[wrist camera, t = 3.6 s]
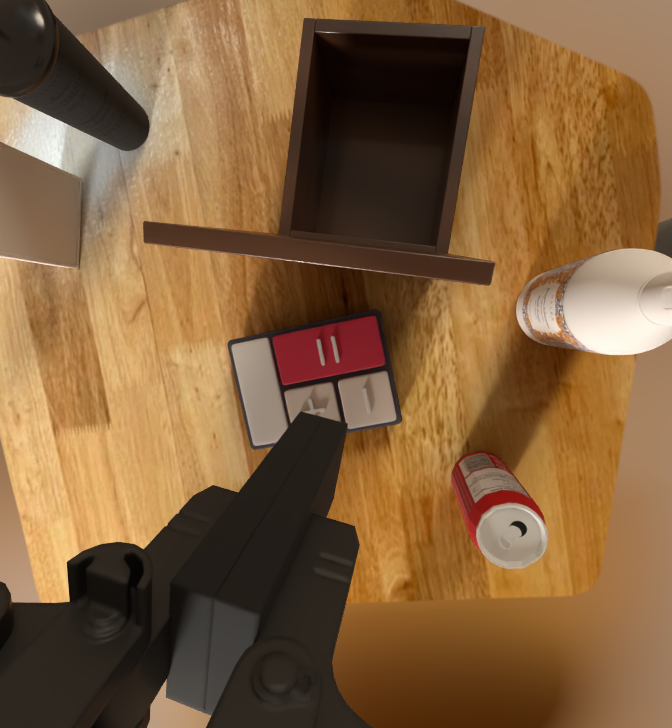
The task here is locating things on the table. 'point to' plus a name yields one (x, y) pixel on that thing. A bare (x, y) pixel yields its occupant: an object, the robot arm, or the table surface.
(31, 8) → the drinking cup
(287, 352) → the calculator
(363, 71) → the chest
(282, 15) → the table surface
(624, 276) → the bath foam
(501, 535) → the soda can
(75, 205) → the gravestone
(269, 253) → the chest lid
